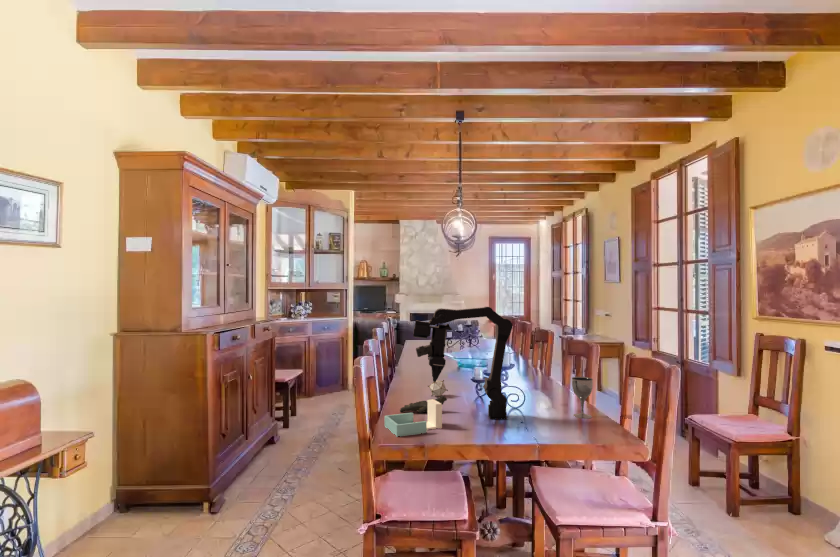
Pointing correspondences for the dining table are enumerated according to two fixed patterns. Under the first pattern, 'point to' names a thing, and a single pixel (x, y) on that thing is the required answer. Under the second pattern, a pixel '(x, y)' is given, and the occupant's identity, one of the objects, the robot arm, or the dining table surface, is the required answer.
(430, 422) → the bookend
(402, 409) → the statue
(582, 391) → the wine glass
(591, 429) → the dining table surface
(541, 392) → the dining table surface
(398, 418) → the box
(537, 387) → the dining table surface
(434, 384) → the game die
